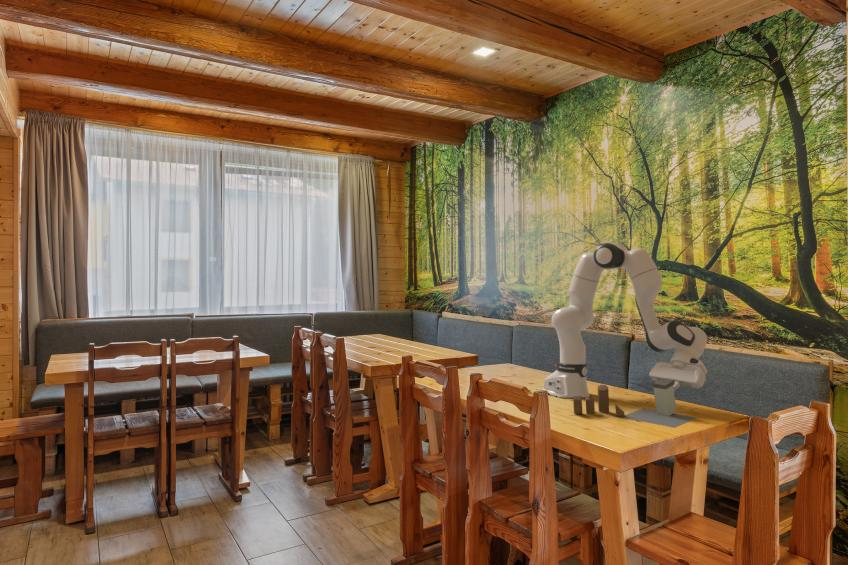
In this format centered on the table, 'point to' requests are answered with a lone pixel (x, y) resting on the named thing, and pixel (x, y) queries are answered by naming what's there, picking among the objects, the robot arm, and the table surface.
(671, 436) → the table surface
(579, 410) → the wooden block set
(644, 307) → the robot arm
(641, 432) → the table surface
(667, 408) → the sage block
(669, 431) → the table surface
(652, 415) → the slate mat
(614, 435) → the table surface
